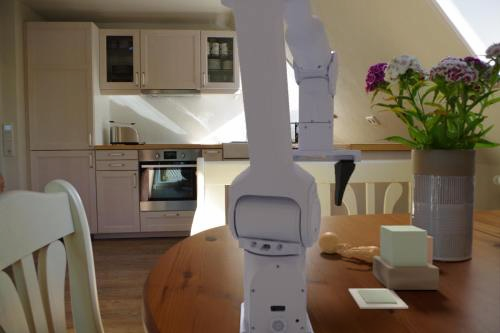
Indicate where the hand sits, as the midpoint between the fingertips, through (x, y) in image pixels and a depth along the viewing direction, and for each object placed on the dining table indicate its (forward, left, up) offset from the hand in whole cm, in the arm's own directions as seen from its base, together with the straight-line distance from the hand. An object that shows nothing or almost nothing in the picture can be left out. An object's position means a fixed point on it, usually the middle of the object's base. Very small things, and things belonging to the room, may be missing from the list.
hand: (315, 205), depth 65 cm
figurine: (+9, -3, -7) cm, 11 cm away
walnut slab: (-8, -12, -10) cm, 18 cm away
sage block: (-8, -12, -7) cm, 16 cm away
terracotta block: (+2, -17, -10) cm, 20 cm away
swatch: (-14, -6, -10) cm, 18 cm away
